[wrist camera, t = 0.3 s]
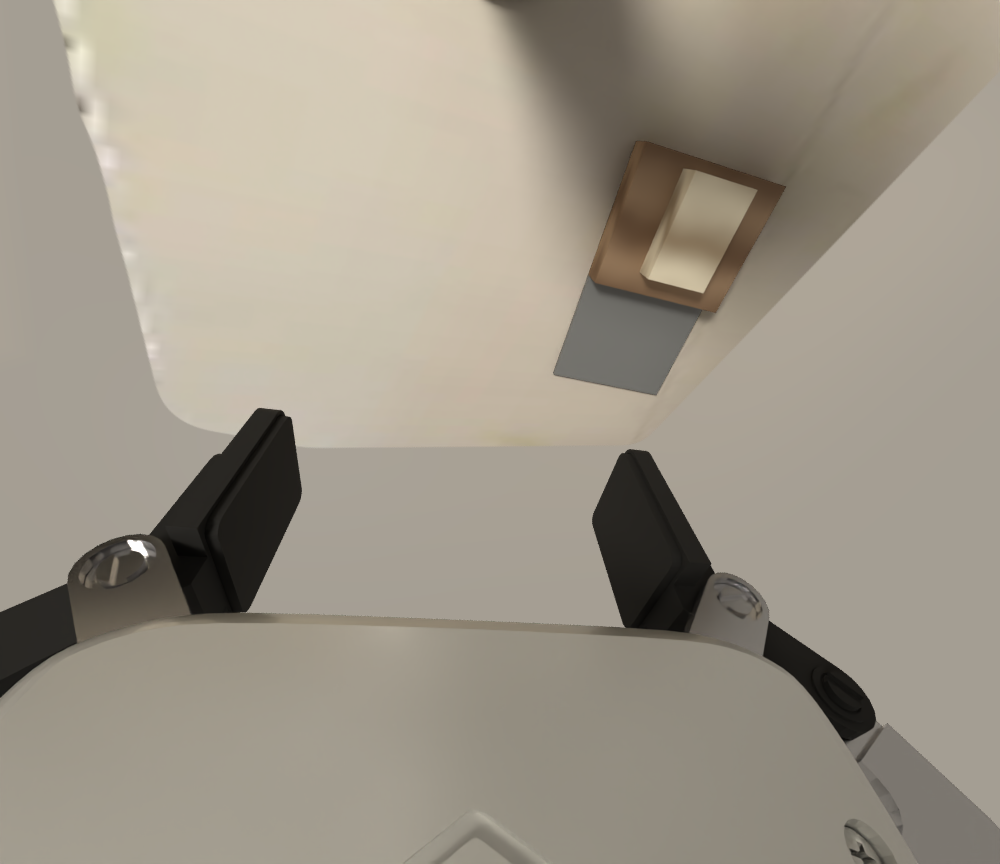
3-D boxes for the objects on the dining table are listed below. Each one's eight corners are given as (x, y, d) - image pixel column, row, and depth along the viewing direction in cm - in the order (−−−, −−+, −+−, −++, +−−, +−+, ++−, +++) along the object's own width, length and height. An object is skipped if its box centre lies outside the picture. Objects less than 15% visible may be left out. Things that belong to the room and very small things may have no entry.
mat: (588, 274, 44) (589, 276, 43) (702, 303, 46) (704, 304, 46) (553, 372, 50) (553, 374, 50) (654, 393, 53) (656, 394, 53)
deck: (635, 141, 37) (647, 141, 35) (766, 183, 40) (786, 186, 37) (588, 274, 44) (595, 282, 41) (702, 303, 46) (715, 312, 44)
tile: (683, 168, 36) (696, 170, 34) (742, 187, 37) (757, 190, 35) (639, 272, 41) (648, 279, 39) (692, 285, 42) (703, 293, 40)
